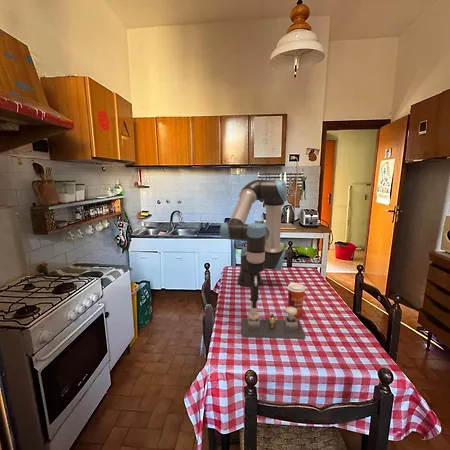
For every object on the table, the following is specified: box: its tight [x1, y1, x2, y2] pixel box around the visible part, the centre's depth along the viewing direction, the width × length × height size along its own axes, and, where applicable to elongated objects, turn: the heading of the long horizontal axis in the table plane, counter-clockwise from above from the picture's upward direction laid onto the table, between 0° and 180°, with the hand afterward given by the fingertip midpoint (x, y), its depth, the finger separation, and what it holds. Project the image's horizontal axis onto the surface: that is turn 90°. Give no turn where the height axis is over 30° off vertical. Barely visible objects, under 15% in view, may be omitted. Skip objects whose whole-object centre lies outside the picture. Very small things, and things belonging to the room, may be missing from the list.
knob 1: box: [247, 311, 260, 321], centre depth 115 cm, size 5×5×5 cm
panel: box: [241, 316, 306, 340], centre depth 115 cm, size 11×26×5 cm, turn 88°
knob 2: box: [285, 306, 297, 321], centre depth 114 cm, size 5×5×5 cm
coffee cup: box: [287, 282, 306, 319], centre depth 128 cm, size 8×8×15 cm
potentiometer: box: [268, 313, 276, 328], centre depth 115 cm, size 3×3×6 cm
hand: (253, 313), depth 115 cm, fingers closed
